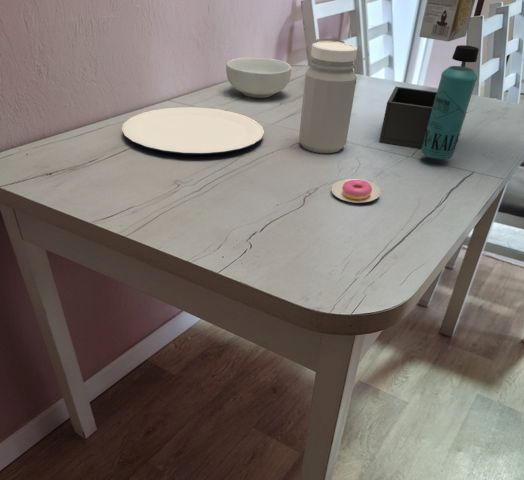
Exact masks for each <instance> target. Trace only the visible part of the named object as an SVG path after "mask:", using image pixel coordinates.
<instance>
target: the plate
mask: <svg viewBox="0 0 524 480" xmlns="http://www.w3.org/2000/svg"><path fill="white" fill-rule="evenodd" d="M121 131H122V133H123V136H124V137H125V138H126V139H128V140H129V141H130V142H132V143H134V144H136V145H139V146H140V147H141V146H142V147H143V148H146V149H150V150H154V151H157V152H158V151H159V152H163V153H171V154H179V155H213V154H215V155H217V154H225V153H231V152H236V151H241V150H243V149H245V148H249V147H252V146H254V145H255V144H257V143H258V142H259V141H261V140H262V139H263V137H264V135H265V130H264V128H263V125H261V124H260V123H259V122H257V121H256V120H254V119H253V118H250V117H249V116H247V115H244V114H241V113H238V112H234V111H228V110H223V109H219V108H210V107H192V106H189V107H188V106H181V107H168V108H159V109H152V110H148V111H145V112H140V113H139V114H136V115H134V116H131V117H130V118H129V119H127V120H126V121H125V122H123V124H122V127H121Z"/></svg>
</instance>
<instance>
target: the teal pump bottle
mask: <svg viewBox="0 0 524 480" xmlns="http://www.w3.org/2000/svg"><path fill="white" fill-rule="evenodd" d="M479 51H480V48H479V47H476V46H474V45H473V46H472V45H465V44H463V45H462V44H461V45H460V44H458V45H456V47H455V49H454V52H453V55H452V57H451V59H452V60H454V61H457V62H460V63H461V62H462V63H476V62H477V61H478V55H479ZM477 80H478V77H477V74H476V72H475V70H474V69H472V68H471V67H466V66H462V65H460V66H459V65H450V66H448V67H447V68H445V69H444V70H443V71H442V72H441V75H440V80H439V84H438V86H437V91H436V92H437V94H436V95H435V96H436V97H435V99H434V101H433V102H434V104H433V108H432V111H431V114H430V116H429V117H430V119H429V121H428V122H429V123H428V126H427V130H425V131H426V134H424V135H425V137H424V138H423V139H424V140H423V142H422V144H423V145H421V146H422V148H421V149H420V151H421V154H422V155H423V156H426V157H428V158H431V159H435V160H449V159H451V158H452V157H453V155H454V154H455V152H456V148H457V144H458V142H459V137H460V136H461V132H462V128H463V125H464V122H465V119H466V117H467V115H466V114H467V111H468V108H469V105H470V102H471V98H472V95H473V93H474V88H475V85H476V82H477Z"/></svg>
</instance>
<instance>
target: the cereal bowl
mask: <svg viewBox="0 0 524 480" xmlns="http://www.w3.org/2000/svg"><path fill="white" fill-rule="evenodd" d="M225 69H226V70H225V71H226V78H227V80H228V82H229V84H230V85H231V87H232V88H234V89H235V90H236V91H238V92H241V93H242V94H243V96H246V97H248V98H255V99H265V98H266V99H268V98H271V97H273V95H274V94H277V93H280V92H281V91H283V90H284V89H285V88H286V87H287V86H288V85H289V83H290V81H291V74H292V65H291V64H289V63H288V62H287V61H284V60H280V59H274V58H268V57H256V56H255V57H254V56H253V57H252V56H251V57H237V58H233V59H230V60H228V61H226V64H225Z"/></svg>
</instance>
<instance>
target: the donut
mask: <svg viewBox="0 0 524 480" xmlns="http://www.w3.org/2000/svg"><path fill="white" fill-rule="evenodd" d="M373 182H374V180H372V181H369V180H365V179H360V178H348V179H342V180H339V181H337V182H335V183H333V185H332V186H331V193H332V194H333V196H335V197H336V198H338V199H339V200H340V201H341V200H342V201H344V202H347V203H348V202H349V203H353V204H362V203H363V204H364V203H369V202H372V201H375V200H376V199H378V198H379V197H380V196H381V191H382V190H381V188H380V187H379V186H378V185H377V184H375V183H373Z"/></svg>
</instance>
